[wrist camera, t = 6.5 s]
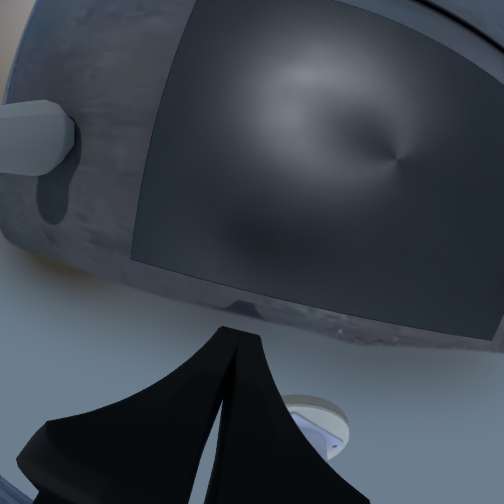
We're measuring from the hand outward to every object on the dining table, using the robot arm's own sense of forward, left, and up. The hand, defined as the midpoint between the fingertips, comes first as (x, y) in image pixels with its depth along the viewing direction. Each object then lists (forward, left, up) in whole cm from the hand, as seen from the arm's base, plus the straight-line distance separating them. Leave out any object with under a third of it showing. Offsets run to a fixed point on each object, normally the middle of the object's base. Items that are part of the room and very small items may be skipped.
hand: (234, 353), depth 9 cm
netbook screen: (+10, -1, -8) cm, 13 cm away
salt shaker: (-4, +18, -11) cm, 21 cm away
